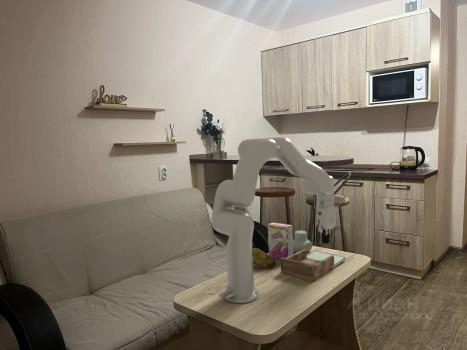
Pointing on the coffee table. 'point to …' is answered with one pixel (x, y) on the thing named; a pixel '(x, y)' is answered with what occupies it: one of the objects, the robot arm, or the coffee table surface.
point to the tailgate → (322, 255)
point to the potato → (262, 259)
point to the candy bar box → (280, 240)
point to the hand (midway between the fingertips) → (325, 242)
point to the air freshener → (301, 242)
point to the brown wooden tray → (306, 266)
